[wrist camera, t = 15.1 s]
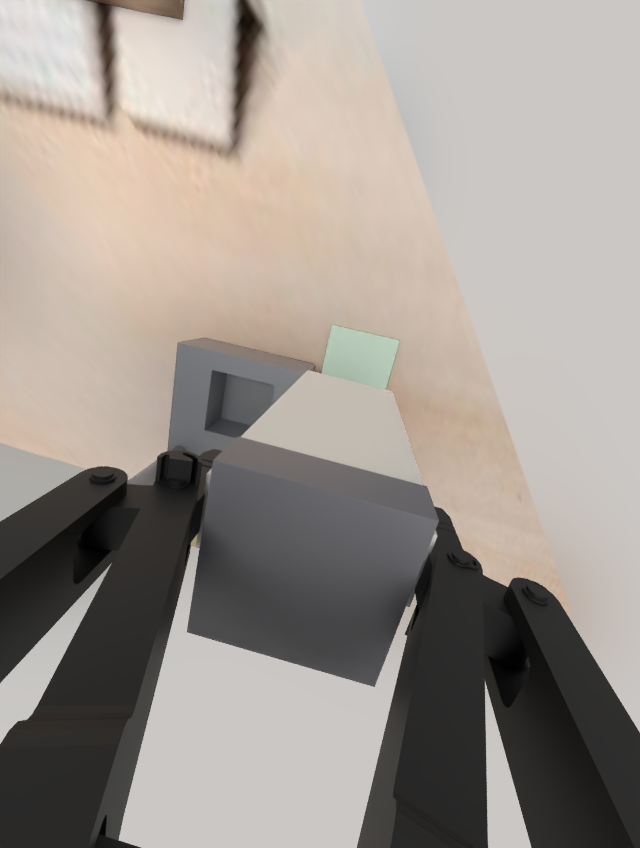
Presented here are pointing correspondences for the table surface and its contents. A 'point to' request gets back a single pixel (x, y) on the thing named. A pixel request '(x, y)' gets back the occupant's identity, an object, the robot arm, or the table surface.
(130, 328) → the table surface
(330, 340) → the pad
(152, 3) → the mug corral
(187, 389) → the socket block
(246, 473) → the plug
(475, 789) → the robot arm
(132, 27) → the table surface
